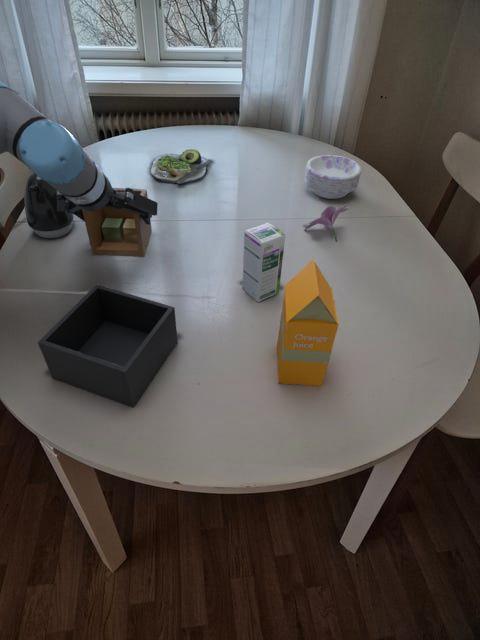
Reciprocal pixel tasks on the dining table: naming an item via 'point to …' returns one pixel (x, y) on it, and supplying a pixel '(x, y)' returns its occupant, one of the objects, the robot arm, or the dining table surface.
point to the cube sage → (113, 230)
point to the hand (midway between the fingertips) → (117, 217)
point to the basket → (111, 344)
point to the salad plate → (180, 167)
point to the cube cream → (130, 231)
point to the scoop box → (123, 248)
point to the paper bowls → (332, 176)
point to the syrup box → (262, 261)
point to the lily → (328, 217)
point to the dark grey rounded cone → (45, 209)
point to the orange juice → (306, 328)
